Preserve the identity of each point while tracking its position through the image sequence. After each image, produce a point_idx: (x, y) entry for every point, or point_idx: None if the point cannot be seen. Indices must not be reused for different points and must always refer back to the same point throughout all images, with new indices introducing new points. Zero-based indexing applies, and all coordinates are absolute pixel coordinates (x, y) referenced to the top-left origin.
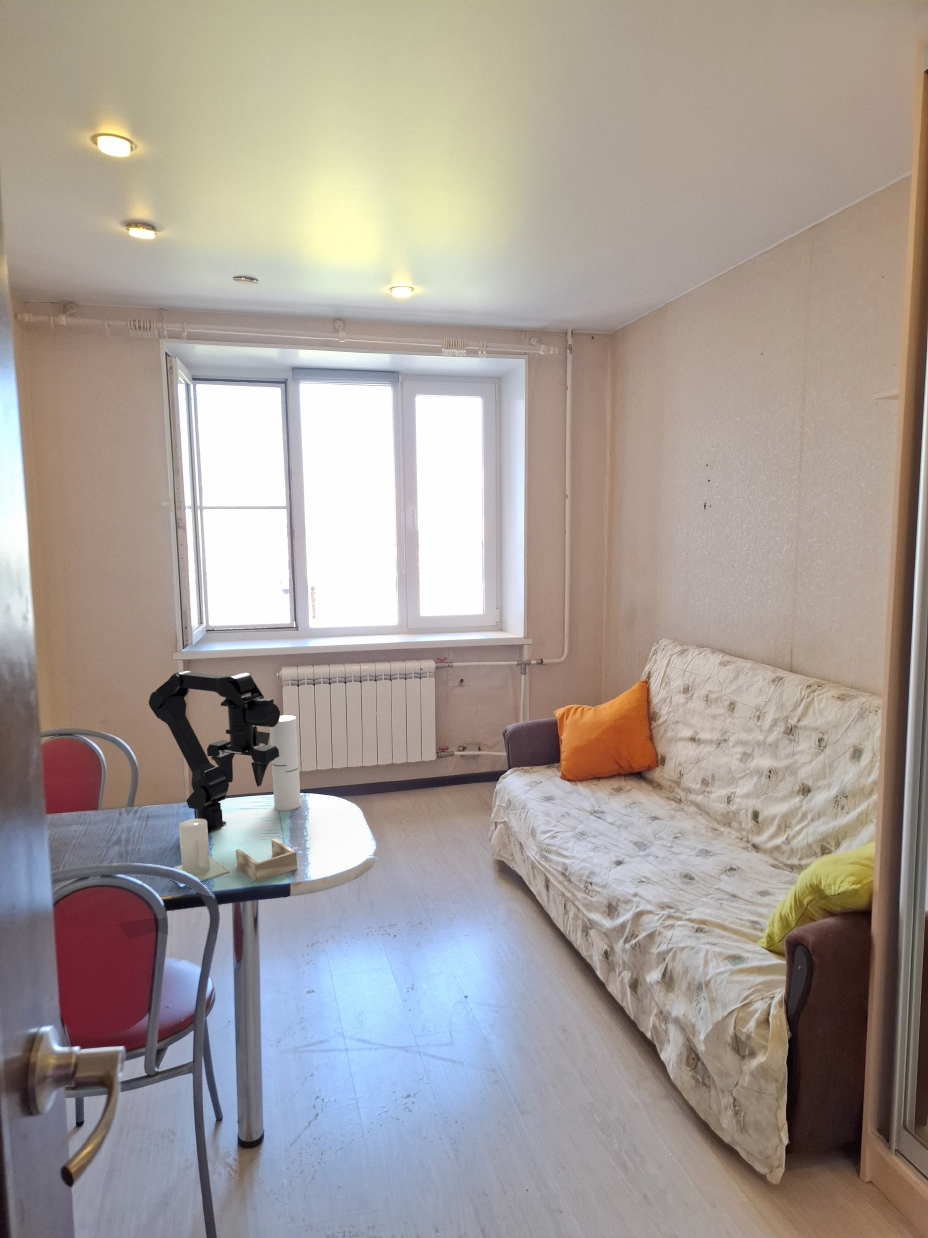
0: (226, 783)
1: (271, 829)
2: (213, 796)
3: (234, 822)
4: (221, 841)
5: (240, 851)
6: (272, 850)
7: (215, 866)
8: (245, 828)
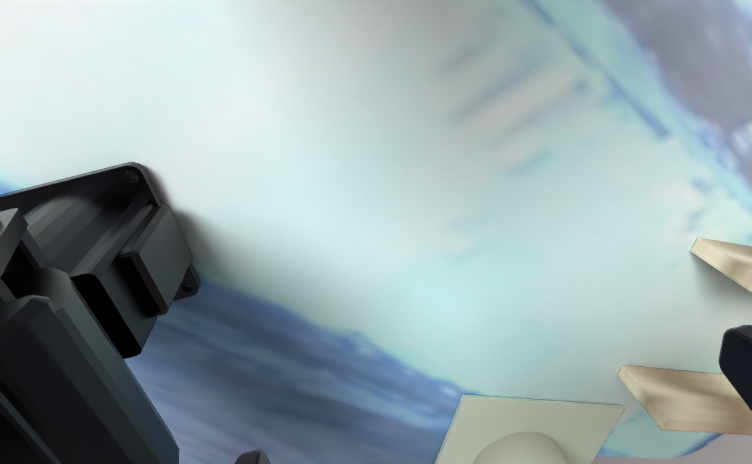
0: (38, 361)
1: (462, 42)
2: (171, 441)
3: (149, 111)
4: (358, 299)
5: (689, 426)
6: (712, 264)
7: (553, 421)
8: (306, 131)
